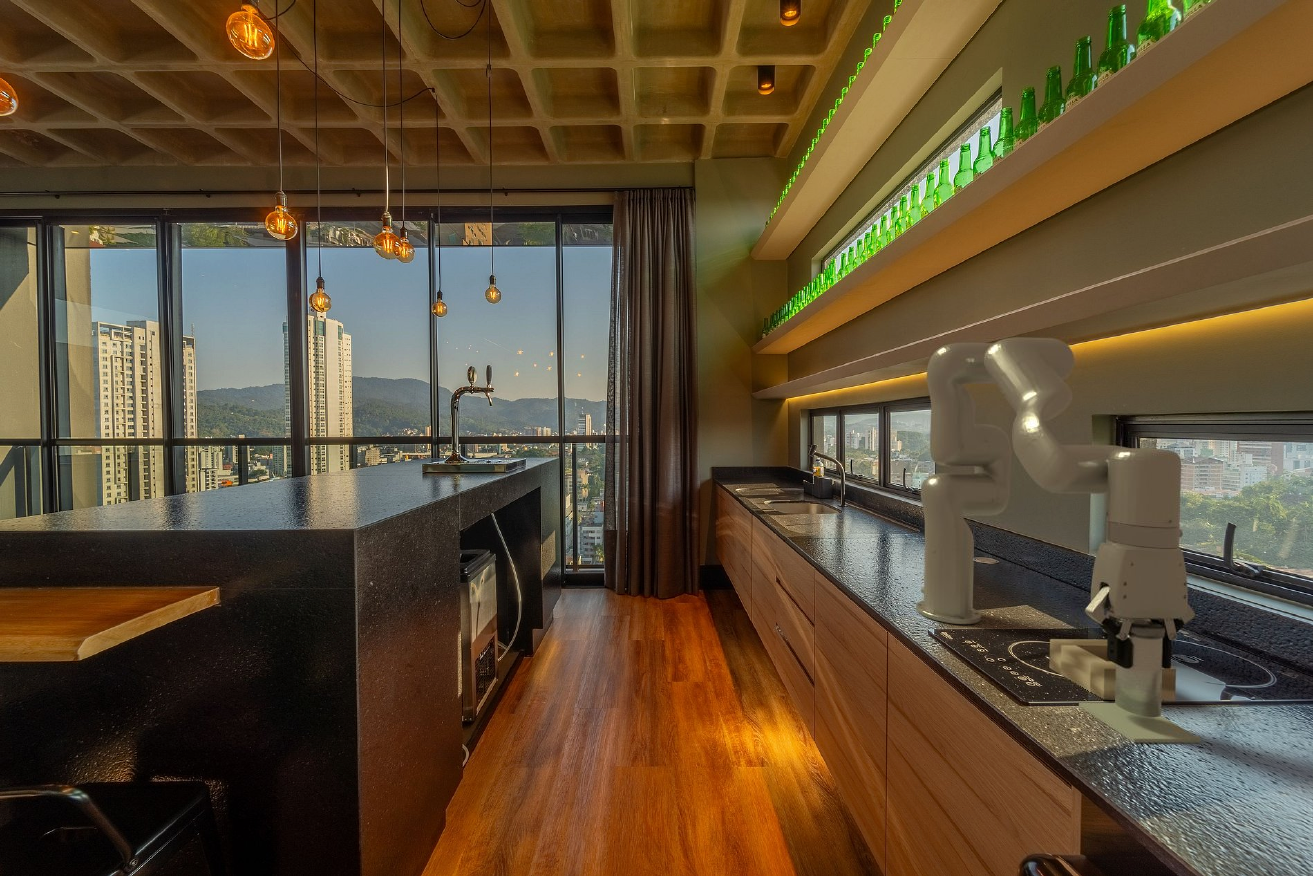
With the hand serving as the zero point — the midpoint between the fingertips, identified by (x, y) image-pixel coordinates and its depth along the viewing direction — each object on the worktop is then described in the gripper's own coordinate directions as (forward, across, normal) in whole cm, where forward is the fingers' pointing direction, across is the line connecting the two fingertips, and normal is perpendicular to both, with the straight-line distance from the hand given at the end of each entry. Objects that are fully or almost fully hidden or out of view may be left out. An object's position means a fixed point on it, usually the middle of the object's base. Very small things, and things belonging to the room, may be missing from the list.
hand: (1138, 663), depth 74 cm
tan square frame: (+9, -6, -12) cm, 16 cm away
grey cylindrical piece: (+6, 0, 0) cm, 6 cm away
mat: (+9, 0, 0) cm, 9 cm away
